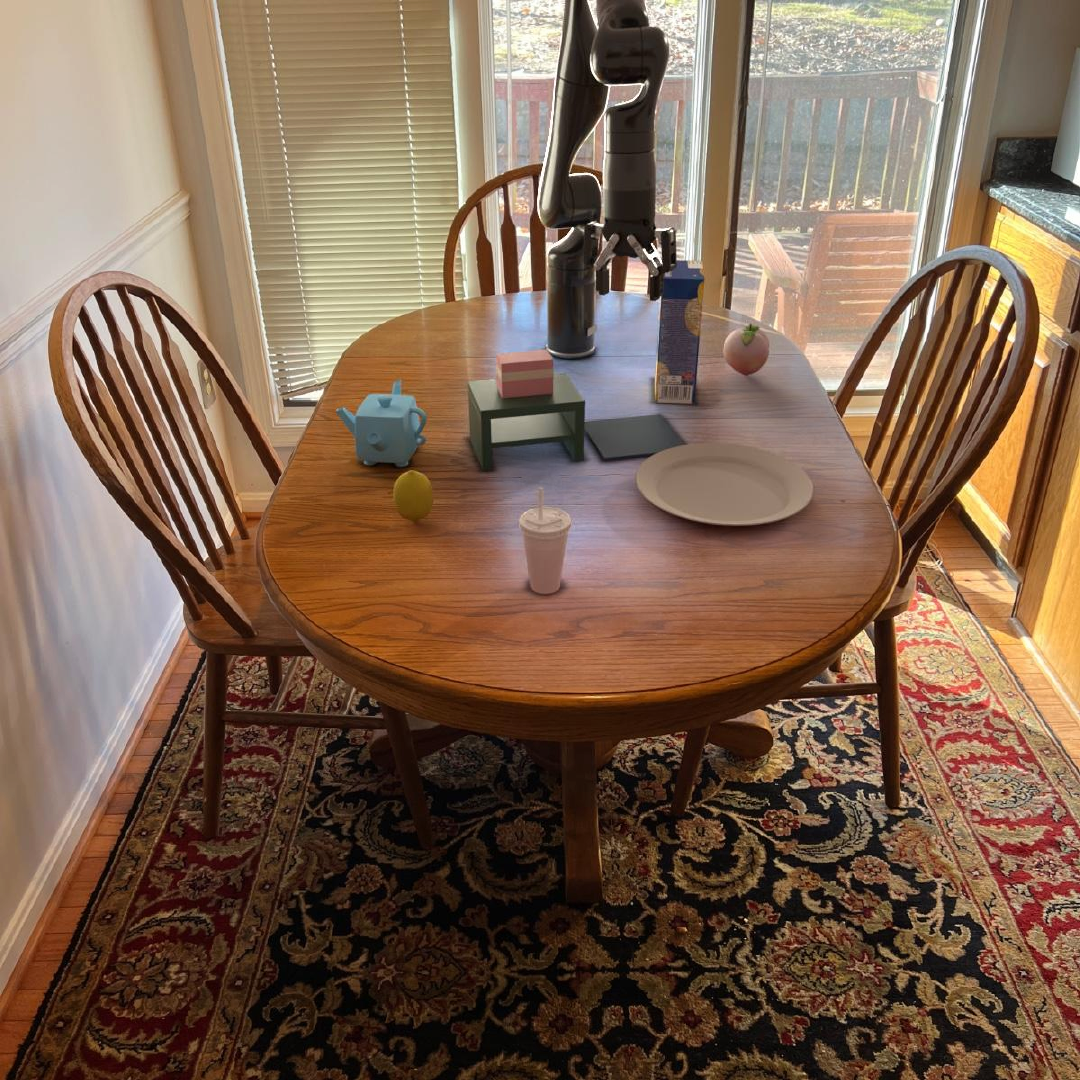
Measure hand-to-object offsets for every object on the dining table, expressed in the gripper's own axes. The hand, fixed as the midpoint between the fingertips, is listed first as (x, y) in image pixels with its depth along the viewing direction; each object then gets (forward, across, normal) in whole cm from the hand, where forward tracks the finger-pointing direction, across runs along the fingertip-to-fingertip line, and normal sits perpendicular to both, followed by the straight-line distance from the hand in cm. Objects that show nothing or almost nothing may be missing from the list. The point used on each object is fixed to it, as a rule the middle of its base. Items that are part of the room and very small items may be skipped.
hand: (629, 296), depth 152 cm
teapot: (+23, +31, +24) cm, 45 cm away
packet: (+13, +12, +11) cm, 21 cm away
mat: (+24, 0, -2) cm, 24 cm away
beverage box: (+23, +3, -23) cm, 33 cm away
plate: (+25, -19, +8) cm, 33 cm away
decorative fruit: (+23, -5, -37) cm, 44 cm away
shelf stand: (+23, +13, +10) cm, 29 cm away
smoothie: (+25, -10, +42) cm, 50 cm away
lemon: (+24, +14, +38) cm, 47 cm away
